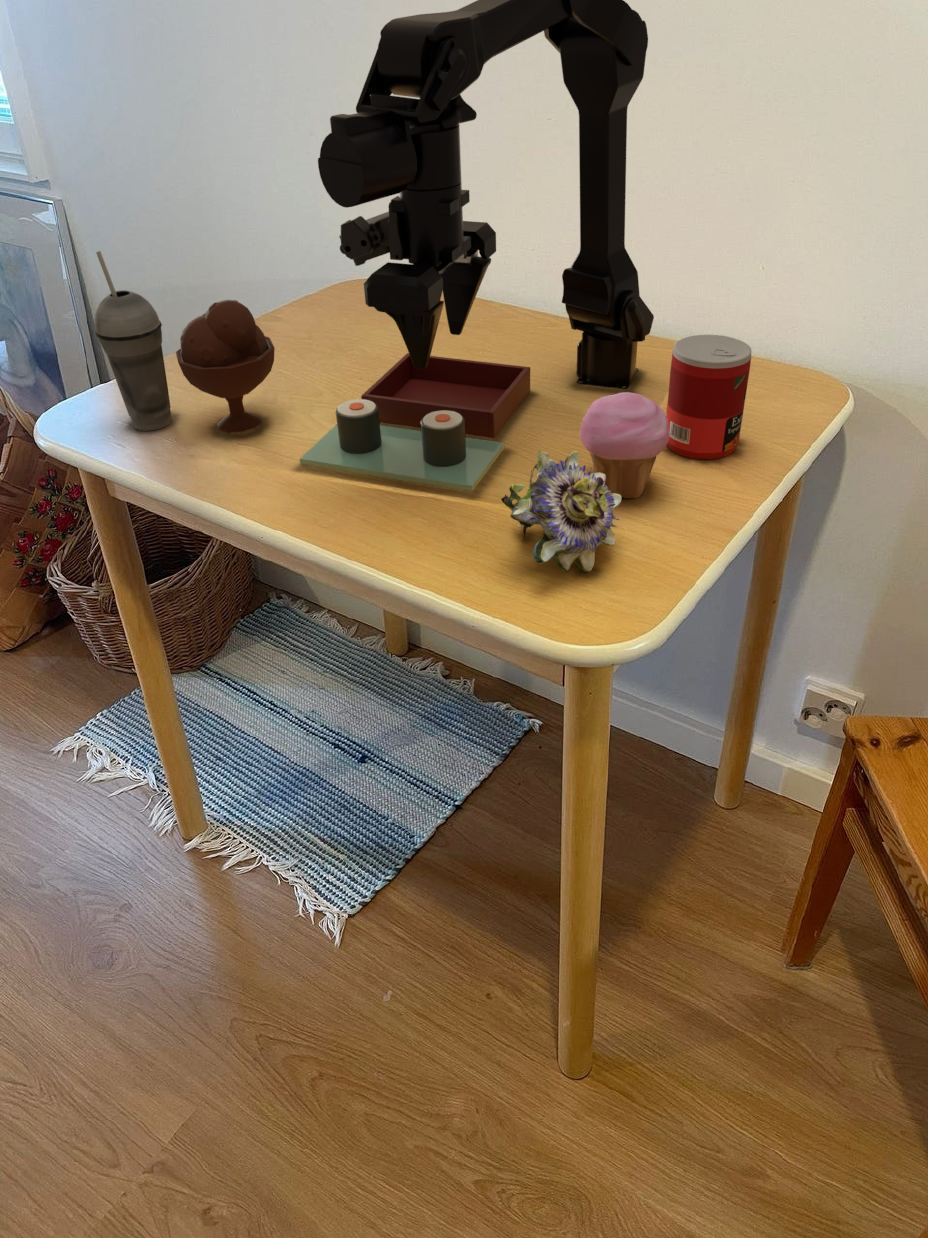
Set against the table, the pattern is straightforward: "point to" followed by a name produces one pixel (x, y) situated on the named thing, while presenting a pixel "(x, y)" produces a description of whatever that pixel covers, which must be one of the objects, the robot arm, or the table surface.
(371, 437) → the cylinder
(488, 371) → the sushi box
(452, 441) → the cylinder
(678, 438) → the canned food
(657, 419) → the cupcake
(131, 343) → the beverage cup
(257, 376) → the ice cream bowl
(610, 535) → the passion flower
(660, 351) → the table surface
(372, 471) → the plate
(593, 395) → the table surface
